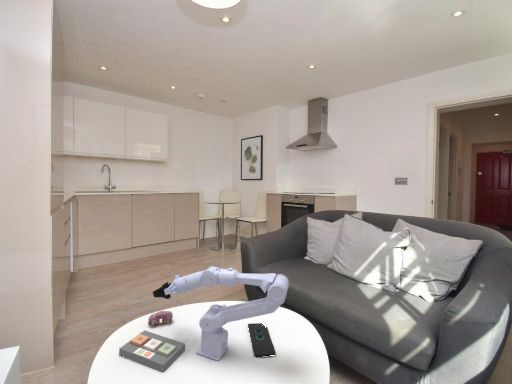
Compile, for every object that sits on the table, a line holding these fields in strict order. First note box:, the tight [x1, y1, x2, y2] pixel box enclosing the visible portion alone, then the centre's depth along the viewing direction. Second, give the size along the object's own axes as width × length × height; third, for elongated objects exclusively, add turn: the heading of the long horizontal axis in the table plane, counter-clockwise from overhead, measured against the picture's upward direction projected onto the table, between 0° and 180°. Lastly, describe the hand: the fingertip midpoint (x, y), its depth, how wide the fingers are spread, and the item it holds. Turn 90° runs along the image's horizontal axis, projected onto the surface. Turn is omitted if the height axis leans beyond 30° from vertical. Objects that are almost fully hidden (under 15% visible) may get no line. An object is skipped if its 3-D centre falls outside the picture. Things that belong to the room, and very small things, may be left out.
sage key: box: [157, 343, 176, 357], centre depth 93 cm, size 4×4×2 cm
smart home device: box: [247, 322, 277, 359], centre depth 106 cm, size 8×2×20 cm
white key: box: [144, 338, 162, 352], centre depth 95 cm, size 4×4×2 cm
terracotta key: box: [130, 333, 149, 347], centre depth 97 cm, size 4×4×2 cm
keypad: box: [118, 330, 186, 373], centre depth 95 cm, size 19×12×3 cm, turn 70°
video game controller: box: [148, 310, 174, 325], centre depth 113 cm, size 10×5×7 cm
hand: (160, 291), depth 102 cm, fingers open, 7 cm apart
